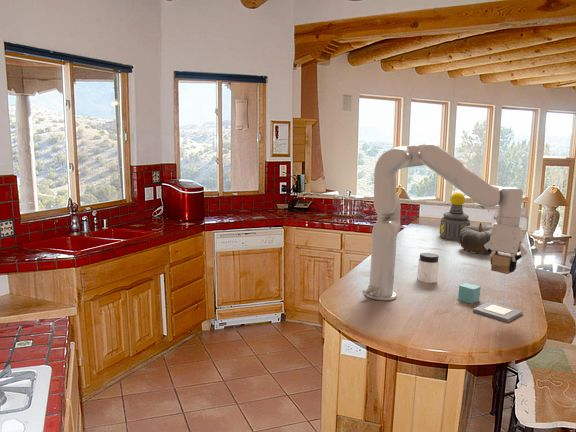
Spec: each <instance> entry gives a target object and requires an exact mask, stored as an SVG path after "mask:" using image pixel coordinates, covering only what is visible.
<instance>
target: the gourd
mask: <svg viewBox="0 0 576 432" xmlns="http://www.w3.org/2000/svg"><path fill="white" fill-rule="evenodd" d="M492 229H493V225H491V224H490V225H489V224H487V225H483V224H482V222H479V225H476V224H475V225H474V224H472V225H471V224H470V226H467V227H465V228H464V229H463V230H462V231H461V232H460V234H459V240H458V243H459V245H460V246H461V248H462V249H463V250H464V251H466V252H468V253H471V254H477V255H479V254H483V255H488V256H490V254H489V253H488V251H487V249H486V248H485V247H484V245H485V244H486V243H487V242H489V241H490V237H491V233H492Z"/></svg>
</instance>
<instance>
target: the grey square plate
mask: <svg viewBox="0 0 576 432" xmlns="http://www.w3.org/2000/svg"><path fill="white" fill-rule="evenodd" d="M472 312H473V313H475V314H479V315H481V316H486V317H488V318H492V319H495V320H498V321H502V322H504V323H509V322H511V321H513V320H514V319H517V318H518V317H520V316H522V315H523V313H524V312H523V310H520V309H516V308H513V307H509V306H505V305H503V304H502V305H501V304H499V303H495V302H491V301H487V302H485V303H483V304H480V305H478V306H476V307H474V308H472Z"/></svg>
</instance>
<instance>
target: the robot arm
mask: <svg viewBox="0 0 576 432" xmlns="http://www.w3.org/2000/svg"><path fill="white" fill-rule="evenodd" d="M420 166H422V167H423V166H425V167H427V168H429V170H432V171H433V172H434V173H436V174H437V175H439V176H440V177H441V178H443V179H444V180H445V181H446V182H448V183H449V184H451V185H452V186H454V187H455V188H456V189H458V190H460V191H461V192H462V194H465V195H466V196H468V197H469V198H470V199H472V200H473V201H474V202H476V203H477V204H479V205H480V206H482V207H484V208H487V209H489V208H494V207H495V206H497V205H498V209H497V215H494V216H493V220H495V221H496V222H495V223H493V225H492V227H493V229H492V233H491V237H490V241H489V242H487V243H486V244H485V245H484V247H485V248H486V249H487V251H488V253H489V254H490V255H489V256H490V265H491V266H492V257H493V254H496V253H505V254H510V255H511V258H512V261H511V262H510V270H509V271H510V272H512V273H514V272H515V270H516V269H517V263H518V261H519V260H521V259H522V258H524V257H525V256H527V255H528V252H527V250H526V249H525V247H524V246H523V245H522V244H523V243H522V242H523V241H522V240H523V238H522V237H523V234H522V226H521V224H520V223H521V214H522V213H521V212H522V206H523V198H524V196H523V195H524V190H523V189H522V188H520V187H515V186H497V185H493V184H489V183H488V182H486V181H485V180H484V179H482V178H481V177H480V176H478V175H477V174H475V173H474V172H473V171H472V170H471V169H470V168H469V167H468V166H467V165H466V164H465V163H464V162H463V161H460V160H459V159H458V158H456V156H453V155H452V154H451V153H449V152H448V151H446V150H445V149H444V148H442V147H441V146H440V145H439V144H437V143H436V142H426V143H421V144H414V145H412V144H411V145H406V146H396V147H392V148H390V149H388V150H386V151H384V153H382V154H381V155H380V157H379V158H378V159H377V161H376V163H375V166H374V173H373V175H374V176H373V177H374V178H373V183H374V184H373V208H374V210H375V212H376V213H377V214H376V222H375V223H374V225H373V227H372V230H371V254H370V269H369V282H368V285H367V288H366V289H363V290H362V295H363V296H364V295H365V297H367V298H369V299H372V300H377V301H393V300H396V299H397V295H398V294H397V293H396V292H395V291H394V284H395V283H394V281H395V271H396V270H395V267H396V257H397V256H396V255H397V238H398V235H399V233H400V231H401V198H400V196H399V194H398V193H397V174H398V173H397V172H398V171H399V170H401V169H405V168H406V169H407V168H413V167H420ZM518 253H519V254H518ZM491 266H490V267H491ZM513 271H514V272H513Z"/></svg>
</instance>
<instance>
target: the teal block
mask: <svg viewBox="0 0 576 432" xmlns="http://www.w3.org/2000/svg"><path fill="white" fill-rule="evenodd" d="M481 288H482V287H481V286H480V285H476V284H472V283H468V282H465V283H462V284H460V285H459V286H458V295H457V296H458V297H457V300H458V301H462V302H465V303H468V304H475V303H477V302H480V298H481V297H480V296H481Z"/></svg>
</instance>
